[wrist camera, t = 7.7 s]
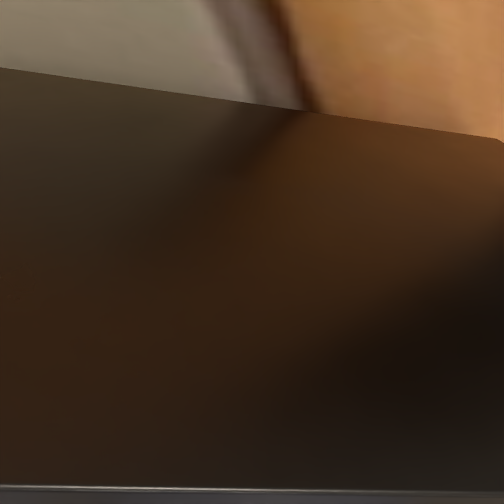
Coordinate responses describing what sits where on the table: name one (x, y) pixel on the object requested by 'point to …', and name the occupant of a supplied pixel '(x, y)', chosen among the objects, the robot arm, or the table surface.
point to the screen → (244, 303)
